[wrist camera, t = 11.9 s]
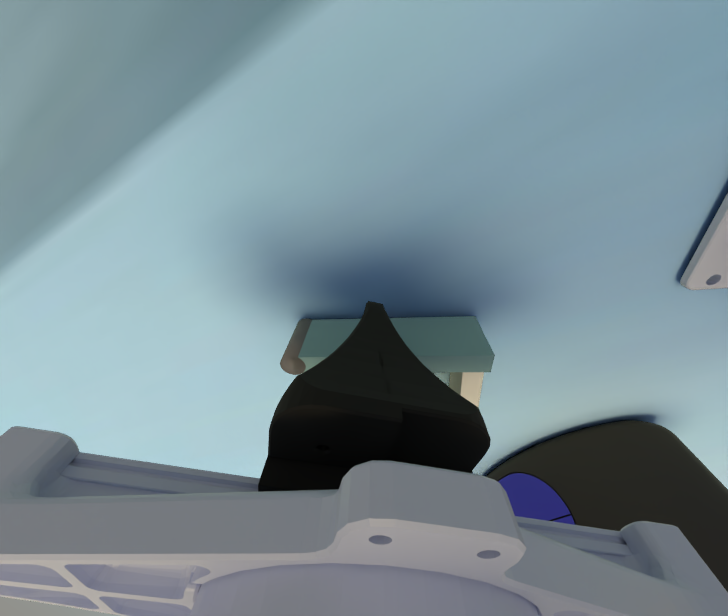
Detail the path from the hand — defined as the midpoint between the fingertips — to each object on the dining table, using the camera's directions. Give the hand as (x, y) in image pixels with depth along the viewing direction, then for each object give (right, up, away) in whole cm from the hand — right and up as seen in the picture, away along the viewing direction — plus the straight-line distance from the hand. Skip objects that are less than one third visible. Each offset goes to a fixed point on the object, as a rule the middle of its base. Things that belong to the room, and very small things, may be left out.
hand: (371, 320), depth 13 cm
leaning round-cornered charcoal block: (+14, -12, +9) cm, 21 cm away
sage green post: (+1, 0, +3) cm, 3 cm away
